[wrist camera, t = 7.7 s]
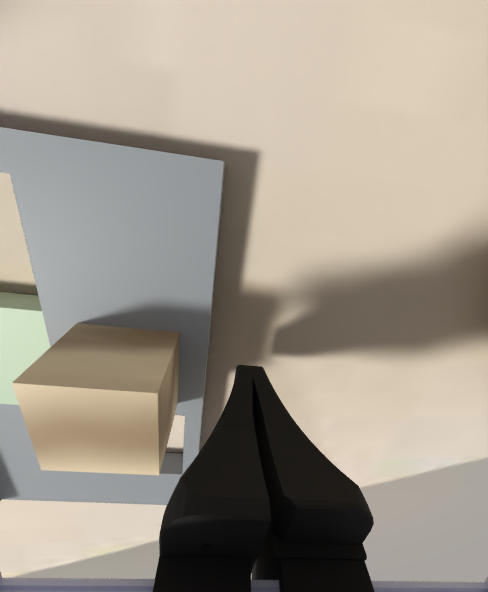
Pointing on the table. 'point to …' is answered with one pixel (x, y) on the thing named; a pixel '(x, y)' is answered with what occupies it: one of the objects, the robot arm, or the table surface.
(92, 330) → the block
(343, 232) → the table surface
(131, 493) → the tray
